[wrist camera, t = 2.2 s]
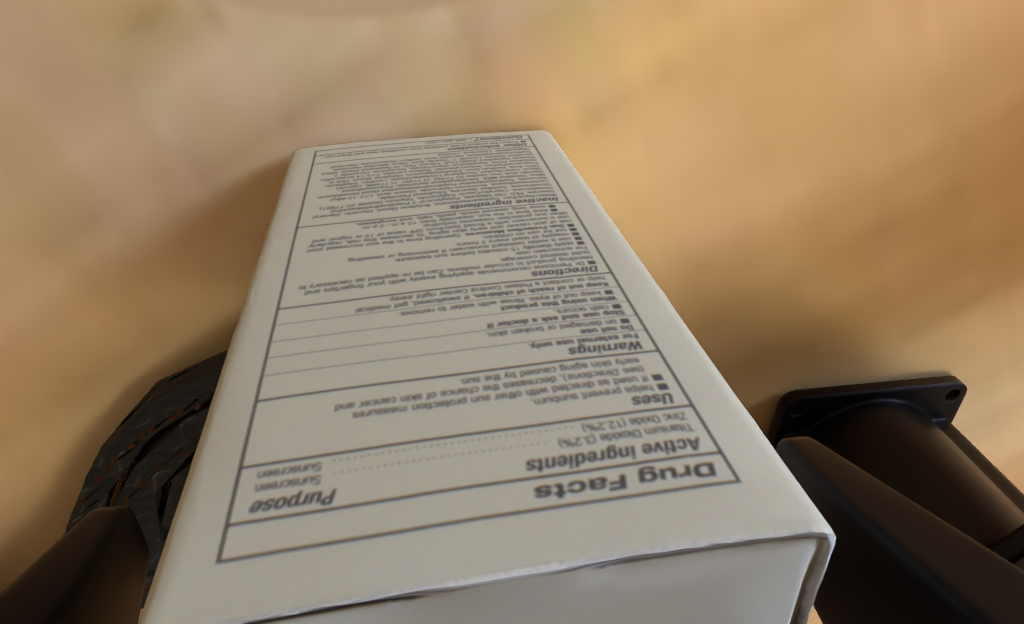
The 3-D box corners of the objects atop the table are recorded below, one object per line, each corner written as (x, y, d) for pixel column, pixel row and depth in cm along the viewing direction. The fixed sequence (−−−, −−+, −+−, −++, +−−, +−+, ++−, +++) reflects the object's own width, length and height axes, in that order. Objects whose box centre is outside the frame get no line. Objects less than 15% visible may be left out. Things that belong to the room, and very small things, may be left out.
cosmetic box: (324, 302, 18) (233, 872, 8) (289, 136, 15) (86, 653, 5) (559, 279, 18) (764, 773, 8) (561, 116, 16) (857, 537, 6)
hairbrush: (-388, 719, 18) (421, 329, 14) (-272, 593, 21) (421, 242, 17) (-97, 811, 23) (580, 542, 18) (-35, 697, 26) (557, 443, 21)
